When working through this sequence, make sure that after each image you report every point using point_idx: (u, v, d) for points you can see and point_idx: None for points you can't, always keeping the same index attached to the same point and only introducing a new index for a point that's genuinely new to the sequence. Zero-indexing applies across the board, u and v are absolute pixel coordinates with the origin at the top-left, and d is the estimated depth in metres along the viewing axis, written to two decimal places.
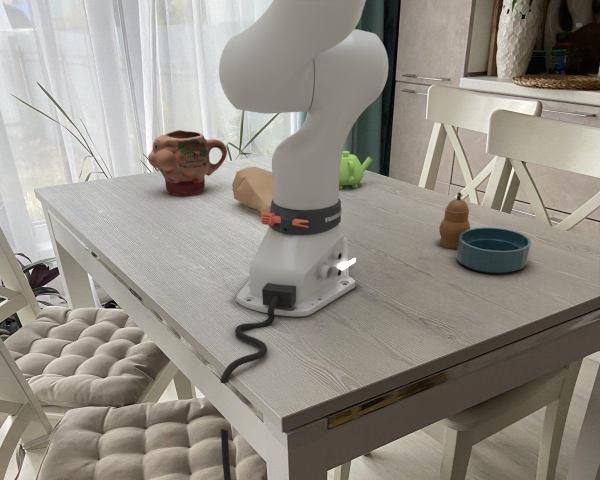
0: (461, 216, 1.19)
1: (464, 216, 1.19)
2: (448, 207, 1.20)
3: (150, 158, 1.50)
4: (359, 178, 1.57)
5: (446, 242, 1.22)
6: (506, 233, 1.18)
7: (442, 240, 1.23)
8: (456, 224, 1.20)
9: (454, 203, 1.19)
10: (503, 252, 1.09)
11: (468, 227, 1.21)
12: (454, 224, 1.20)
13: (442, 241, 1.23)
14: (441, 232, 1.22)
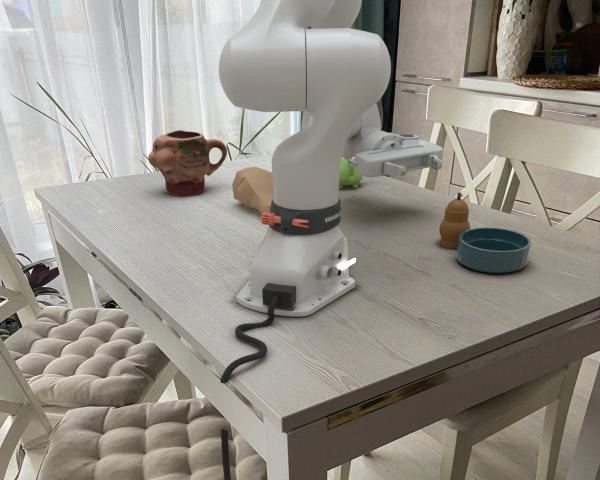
0: (461, 216, 1.19)
1: (464, 216, 1.19)
2: (448, 207, 1.20)
3: (150, 158, 1.50)
4: (359, 178, 1.57)
5: (446, 242, 1.22)
6: (506, 233, 1.18)
7: (442, 240, 1.23)
8: (456, 224, 1.20)
9: (454, 203, 1.19)
10: (503, 252, 1.09)
11: (468, 227, 1.21)
12: (454, 224, 1.20)
13: (442, 241, 1.23)
14: (441, 232, 1.22)
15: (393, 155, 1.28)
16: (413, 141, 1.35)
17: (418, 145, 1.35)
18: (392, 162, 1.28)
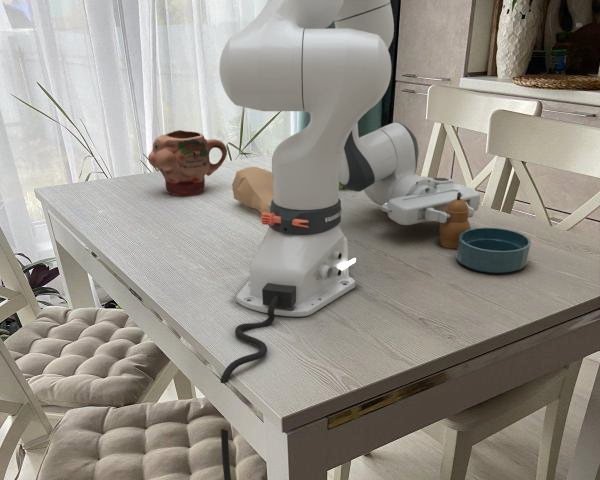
0: (461, 216, 1.19)
1: (464, 216, 1.19)
2: (448, 207, 1.20)
3: (150, 158, 1.50)
4: None
5: (446, 242, 1.22)
6: (506, 233, 1.18)
7: (442, 240, 1.23)
8: (456, 224, 1.20)
9: (454, 203, 1.19)
10: (503, 252, 1.09)
11: (468, 227, 1.21)
12: (454, 224, 1.20)
13: (442, 241, 1.23)
14: (441, 232, 1.22)
15: (429, 202, 1.22)
16: (448, 185, 1.29)
17: (453, 189, 1.29)
18: None
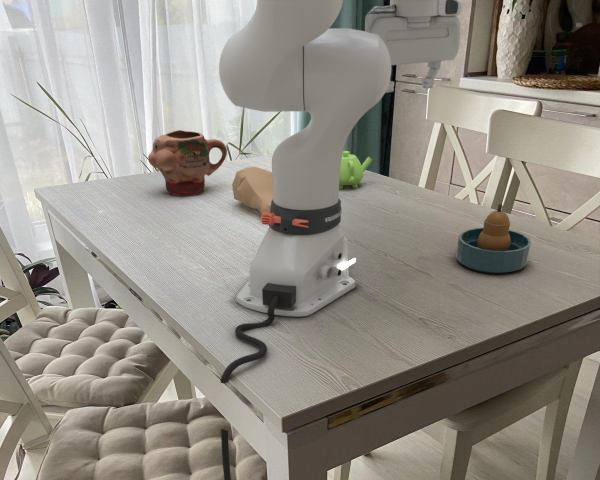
0: (502, 228, 1.11)
1: (505, 229, 1.11)
2: (488, 219, 1.11)
3: (150, 158, 1.50)
4: (359, 178, 1.57)
5: None
6: None
7: None
8: (496, 237, 1.11)
9: (495, 215, 1.10)
10: (503, 252, 1.09)
11: (509, 241, 1.12)
12: (494, 237, 1.11)
13: None
14: (479, 246, 1.14)
15: (402, 58, 1.12)
16: (447, 22, 1.12)
17: (447, 27, 1.13)
18: None
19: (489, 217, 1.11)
